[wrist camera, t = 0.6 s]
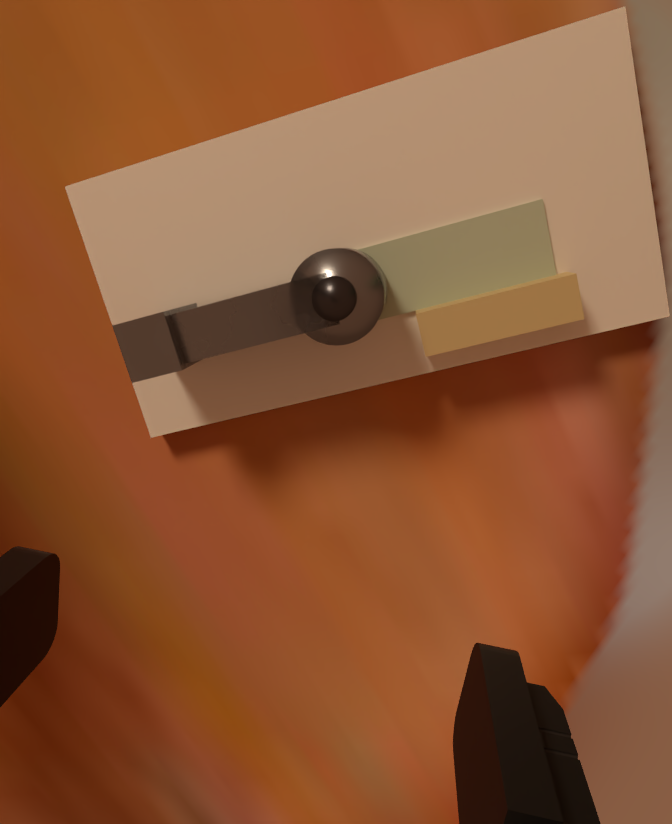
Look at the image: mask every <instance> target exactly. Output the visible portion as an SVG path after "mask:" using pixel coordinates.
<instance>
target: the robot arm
mask: <svg viewBox="0 0 672 824" xmlns="http://www.w3.org/2000/svg"><path fill="white" fill-rule="evenodd" d="M59 577H60V561H59V558H58V556H57V555H56V554H53V553H48V552H43V551H38V550H34V549H29V548H24V547H19V546H17V547H14V548H12V549H10V550H9V551H8V552H6V553H5V554H4V555H3V556H1V557H0V707H1V706H2V705H3V704H4V702H5V701H6V700H7V699H8V698H9V697H10V696H11V695H12V693H13V692H14V691H15V690H16V689H17V688H18V687H19V686H20V684H21V683H22V682H23V681H24V680H25V679H26V678H27V676H28V675H29V674H30V673H31V672H32V671H33V670H34V669H35V667H36V666H37V665H38V664H39V663H40V662H41V661H42V660H43V658H44V657H45V656H46V654H47V653H48V651H49V649H50V647H51V645H52V643H53V640H54V637H55V634H56V630H57V623H58V601H59ZM453 753H454V765H455V777H456V789H457V801H458V813H459V824H600V821H599V818H598V815H597V812H596V808H595V805H594V802H593V799H592V796H591V793H590V790H589V787H588V784H587V781H586V778H585V775H584V772H583V769H582V766H581V763H580V760H578V753H577V750H576V747H575V744H574V741H573V739H571V732H570V729H569V726H568V723H567V720H566V717H565V714H564V711H563V709H562V708H561V706H560V705H559V704H558V703H557V701H556V700H555V699H554V698H553V696H552V695H551V694H550V693H549V691H548V690H547V689H546V687H545V686H541V685H536V684H531V683H527V682H526V678H525V675H524V671H523V667H522V663H521V659H520V656H519V653H518V652H517V651H515V650H510V649H505V648H500V647H495V646H490V645H486V644H481V643H476V644H475V645H474V647H473V650H472V653H471V657H470V661H469V665H468V669H467V673H466V677H465V680H464V684H463V688H462V692H461V696H460V700H459V704H458V708H457V712H456V717H455V724H454V733H453Z"/></svg>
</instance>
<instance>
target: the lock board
mask: <svg viewBox="0 0 672 824" xmlns="http://www.w3.org/2000/svg"><path fill="white" fill-rule="evenodd" d="M65 189H66V192H67V194H68V197H69V200H70V203H71V206H72V209H73V212H74V215H75V218H76V221H77V224H78V227H79V229H80V232H81V235H82V238H83V241H84V244H85V247H86V250H87V253H88V256H89V259H90V261H91V264H92V267H93V270H94V273H95V276H96V279H97V282H98V285H99V288H100V291H101V294H102V296H103V299H104V302H105V305H106V308H107V311H108V314H109V317H110V320H111V323H112V325H116V324H120V323H123V322H127V321H131V320H134V319H138V318H142V317H145V316H149V315H153V314H156V313H160V312H164V311H168V310H171V309H175V308H179V307H183V306H186V305H190V304H194V303H196V304H197V307H199V306H203V305H206V304H210V303H214V302H217V301H221V300H225V299H229V298H232V297H236V296H240V295H243V294H247V293H251V292H254V291H258V290H262V289H265V288H269V287H273V286H276V285H280V284H284V283H288V282H291V279H292V277H293V275H294V273H295V271H296V270H297V268H298V267H299V265H300V264H301V263H302V262H303V261H304V260H305V259H306V258H308V257H309V256H311V255H312V254H314V253H316V252H319V251H322V250H325V249H332V248H352V249H357V250H360V251H362V252H364V253H366V254H368V255H369V256H370V257H372V258H373V259H374V260H375V261H376V262H377V263H378V265H379V266H380V267H381V269H382V271H383V273H384V275H385V278H386V282H387V291H388V293H387V300H386V304H385V307H384V309H383V311H382V313H381V315H380V317H379V319H378V321H377V323H376V324H375V326H374V327H373V329H372V330H371V331H370V332H369V333H368V334H367V335H365V336H364V337H363V338H361V339H360V340H358V341H355V342H353V343H350V344H346V345H338V346H335V345H327V344H323V343H320V342H317V341H315V340H314V339H312V338H310V337H309V336H307V335H306V334H305V333H303V334H299V335H295V336H291V337H288V338H284V339H280V340H276V341H272V342H268V343H264V344H260V345H256V346H252V347H248V348H244V349H240V350H236V351H233V352H229V353H225V354H221V355H217V356H213V357H209V358H205V359H202V360H200V361H199V362H197V363H195V364H193V365H191V366H189V367H187V368H186V369H184V370H182V371H178V372H174V373H170V374H166V375H162V376H158V377H154V378H150V379H146V380H142V381H138V382H134V383H132V384H133V387H134V390H135V393H136V395H137V398H138V401H139V404H140V407H141V410H142V413H143V416H144V419H145V422H146V425H147V428H148V430H149V433H150V436H151V437H156V436H160V435H164V434H169V433H173V432H177V431H181V430H186V429H190V428H194V427H199V426H203V425H207V424H211V423H216V422H220V421H224V420H229V419H233V418H237V417H241V416H246V415H250V414H254V413H258V412H263V411H267V410H271V409H276V408H280V407H284V406H288V405H293V404H297V403H301V402H306V401H310V400H314V399H318V398H323V397H327V396H331V395H336V394H340V393H344V392H348V391H353V390H357V389H361V388H365V387H370V386H374V385H378V384H383V383H387V382H391V381H395V380H400V379H404V378H408V377H413V376H417V375H421V374H425V373H430V372H434V371H438V370H443V369H447V368H451V367H455V366H460V365H464V364H468V363H472V362H477V361H481V360H485V359H490V358H494V357H498V356H502V355H507V354H511V353H515V352H520V351H524V350H528V349H532V348H537V347H541V346H545V345H550V344H554V343H558V342H562V341H567V340H571V339H575V338H579V337H584V336H588V335H592V334H597V333H601V332H605V331H609V330H614V329H618V328H622V327H627V326H631V325H635V324H639V323H644V322H648V321H652V320H657V319H661V318H665V317H669V316H670V313H669V306H668V299H667V292H666V286H665V279H664V272H663V265H662V258H661V251H660V244H659V237H658V230H657V223H656V216H655V209H654V202H653V195H652V188H651V182H650V175H649V168H648V161H647V154H646V147H645V140H644V133H643V126H642V119H641V112H640V105H639V98H638V91H637V84H636V77H635V71H634V64H633V57H632V50H631V43H630V36H629V29H628V22H627V15H626V8H625V7H622V8H618V9H615V10H612V11H609V12H606V13H603V14H600V15H597V16H594V17H590V18H587V19H584V20H581V21H578V22H575V23H572V24H569V25H566V26H563V27H559V28H556V29H553V30H550V31H547V32H544V33H541V34H538V35H535V36H531V37H528V38H525V39H522V40H519V41H516V42H513V43H510V44H507V45H504V46H500V47H497V48H494V49H491V50H488V51H485V52H482V53H479V54H476V55H472V56H469V57H466V58H463V59H460V60H457V61H454V62H451V63H448V64H445V65H441V66H438V67H435V68H432V69H429V70H426V71H423V72H420V73H417V74H413V75H410V76H407V77H404V78H401V79H398V80H395V81H392V82H389V83H386V84H382V85H379V86H376V87H373V88H370V89H367V90H364V91H361V92H358V93H354V94H351V95H348V96H345V97H342V98H339V99H336V100H333V101H330V102H326V103H323V104H320V105H317V106H314V107H311V108H308V109H305V110H302V111H299V112H295V113H292V114H289V115H286V116H283V117H280V118H277V119H274V120H271V121H267V122H264V123H261V124H258V125H255V126H252V127H249V128H246V129H243V130H240V131H236V132H233V133H230V134H227V135H224V136H221V137H218V138H215V139H212V140H208V141H205V142H202V143H199V144H196V145H193V146H190V147H187V148H184V149H181V150H177V151H174V152H171V153H168V154H165V155H162V156H159V157H156V158H153V159H149V160H146V161H143V162H140V163H137V164H134V165H131V166H128V167H125V168H122V169H118V170H115V171H112V172H109V173H106V174H103V175H100V176H97V177H94V178H90V179H87V180H84V181H81V182H78V183H75V184H72V185H69V186H66V187H65Z"/></svg>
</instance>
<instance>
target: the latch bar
mask: <svg viewBox="0 0 672 824" xmlns="http://www.w3.org/2000/svg"><path fill="white" fill-rule="evenodd" d="M387 293H388V291H387V282H386V278H385V275H384V273H383V271H382V269H381V267H380V266H379V265H378V263H377V262H376V261H375V260H374V259H373V258H372V257H370V256H369V255H368V254H366V253H364V252H362V251H360V250H357V249H352V248H332V249H325V250H322V251H319V252H316V253H314V254H312V255H311V256H309V257H308V258H306V259H305V260H304V261H303V262H302V263H301V264H300V265H299V267H298V268H297V270H296V271H295V273H294V275H293V277H292V279H291V282H288V283H284V284H280V285H276V286H273V287H269V288H265V289H262V290H258V291H254V292H251V293H247V294H243V295H240V296H236V297H232V298H229V299H225V300H221V301H217V302H214V303H210V304H206V305H203V306H199V307H197V304H196V303H194V304H190V305H186V306H183V307H179V308H175V309H171V310H168V311H164V312H160V313H156V314H153V315H149V316H145V317H142V318H138V319H134V320H131V321H127V322H123V323H120V324H116V325H112V326H113V329H114V332H115V335H116V338H117V341H118V343H119V346H120V349H121V352H122V355H123V358H124V361H125V364H126V367H127V370H128V373H129V375H130V378H131V381H132V383H134V382H138V381H142V380H146V379H150V378H154V377H158V376H162V375H166V374H170V373H174V372H178V371H182V370H184V369H186V368H187V367H189V366H191V365H193V364H195V363H197V362H199V361H200V360H202V359H205V358H209V357H213V356H217V355H221V354H225V353H229V352H233V351H236V350H240V349H244V348H248V347H252V346H256V345H260V344H264V343H268V342H272V341H276V340H280V339H284V338H288V337H291V336H295V335H299V334H303V333H305V334H306V335H307V336H309V337H310V338H312V339H314V340H315V341H317V342H320V343H323V344H327V345H335V346H338V345H346V344H350V343H353V342H355V341H358V340H360V339H361V338H363V337H364V336H365V335H367V334H368V333H369V332H370V331H371V330H372V329H373V327H374V326H375V324H376V323H377V321H378V319H379V317H380V315H381V313H382V311H383V309H384V307H385V304H386V300H387Z"/></svg>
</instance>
